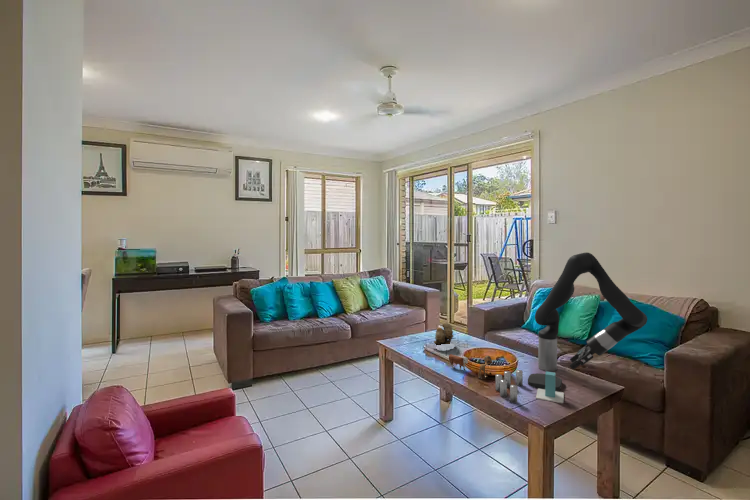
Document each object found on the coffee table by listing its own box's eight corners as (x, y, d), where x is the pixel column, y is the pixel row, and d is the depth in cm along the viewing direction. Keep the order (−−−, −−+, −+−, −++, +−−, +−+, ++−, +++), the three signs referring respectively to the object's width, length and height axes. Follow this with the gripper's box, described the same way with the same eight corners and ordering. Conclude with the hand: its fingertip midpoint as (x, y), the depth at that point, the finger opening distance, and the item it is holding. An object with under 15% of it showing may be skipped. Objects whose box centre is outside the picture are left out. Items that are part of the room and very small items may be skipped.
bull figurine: (466, 373, 198) (466, 358, 197) (447, 366, 208) (447, 352, 208) (471, 371, 200) (471, 357, 200) (452, 365, 211) (452, 350, 211)
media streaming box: (559, 393, 173) (559, 387, 173) (526, 386, 181) (526, 380, 181) (563, 382, 186) (563, 376, 185) (531, 376, 193) (531, 371, 193)
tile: (537, 389, 177) (537, 388, 177) (563, 393, 172) (563, 392, 172) (535, 398, 167) (535, 397, 167) (563, 403, 162) (563, 402, 162)
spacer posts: (499, 380, 188) (499, 366, 188) (522, 384, 183) (522, 370, 183) (490, 398, 168) (490, 383, 168) (516, 403, 163) (516, 388, 162)
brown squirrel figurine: (444, 342, 254) (444, 318, 253) (459, 346, 246) (459, 321, 245) (428, 348, 241) (428, 322, 240) (444, 353, 233) (444, 326, 232)
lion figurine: (483, 370, 203) (483, 353, 203) (493, 371, 200) (493, 355, 200) (476, 379, 190) (476, 362, 190) (487, 381, 188) (487, 363, 187)
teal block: (545, 392, 172) (545, 371, 172) (555, 394, 170) (555, 372, 170) (545, 395, 169) (545, 374, 168) (554, 397, 167) (555, 375, 166)
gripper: (593, 331, 166) (564, 353, 172) (595, 339, 154) (564, 362, 160) (607, 344, 164) (577, 366, 170) (610, 354, 152) (578, 376, 157)
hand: (571, 364), depth 165 cm, fingers open, 8 cm apart
